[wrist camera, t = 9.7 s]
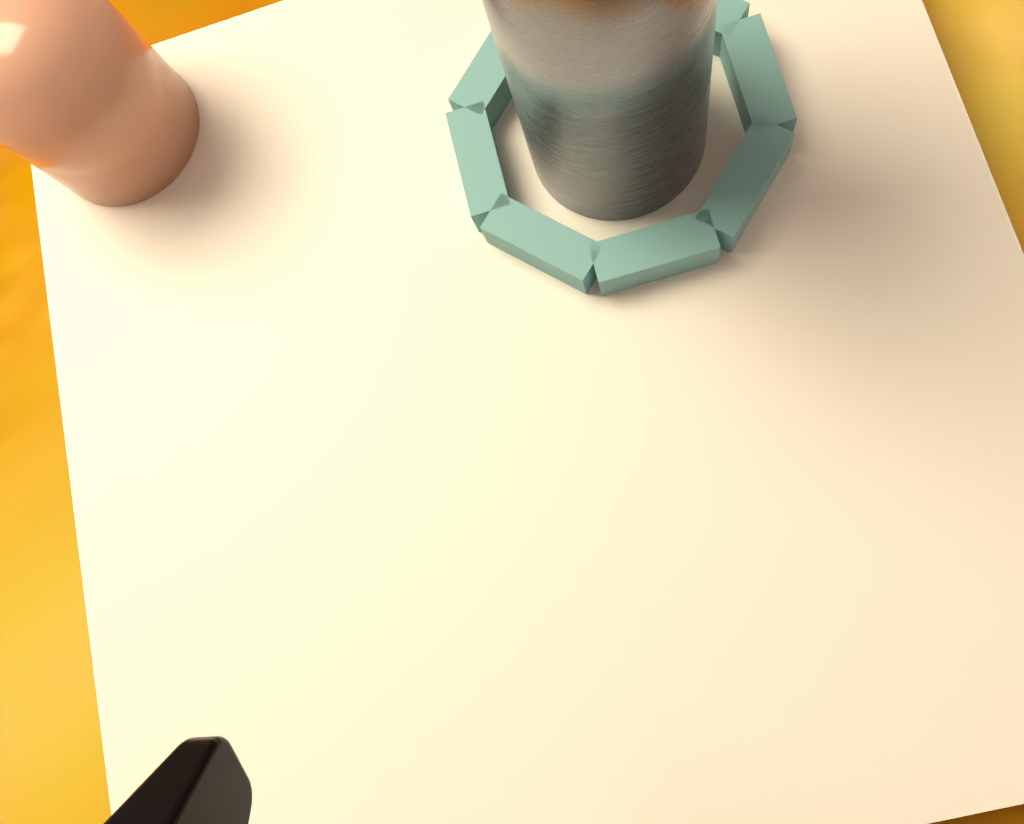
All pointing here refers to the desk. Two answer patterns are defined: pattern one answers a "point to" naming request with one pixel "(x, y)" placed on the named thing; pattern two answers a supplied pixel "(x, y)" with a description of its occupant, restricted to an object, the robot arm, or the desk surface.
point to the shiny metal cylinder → (609, 96)
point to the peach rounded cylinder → (92, 101)
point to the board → (554, 437)
